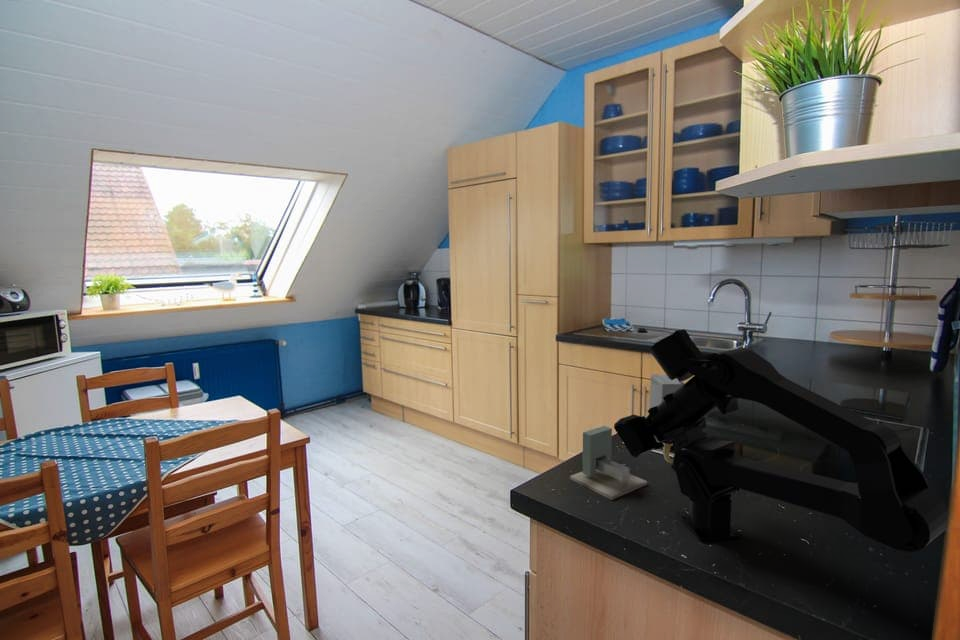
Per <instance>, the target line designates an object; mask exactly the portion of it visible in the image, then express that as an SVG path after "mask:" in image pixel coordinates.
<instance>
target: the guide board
mask: <svg viewBox="0 0 960 640" xmlns="http://www.w3.org/2000/svg"><path fill="white" fill-rule="evenodd" d="M569 480H571V481H573V482H575V483H577V484H579V485H580V486H583V487H585V488H587V489H588V490H591V491H593V492H595V493H597V494H599V495H601V496H603V497H605V498H607V499H609V500H612V501H613V500H616V499H617V498H619V497H621V496H624V495H626V494H628V493H631V492H633V491H635V490H638V489H640V488H642V487H644V486H647V485H648V481H647V480H645V479H642V478H641V477H638V476H636V475H633V474H631V473H629V479H628V480H627V486H626V487H621V486H619V485H618V479H616V478H614V477H612V476H610V475H607V474H605V473H603V472H601V471H598V470H596V475H594V476H591V477H590V476H588V475H586V474H583V470H582V471H580V472H577V473H574V474H572V475H570V476H569Z"/></svg>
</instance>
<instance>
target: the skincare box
mask: <svg viewBox="0 0 960 640" xmlns="http://www.w3.org/2000/svg"><path fill="white" fill-rule="evenodd" d="M685 383H686V382H684V381H682V382H679V381H678V379H677V378H676V379H673V380H671V379H669V378H668V376H667V375H666V374H650V385H649V386H650V388H649V402H648V403H649V405H648V410H649V409H650V408H652V407H655V406H659V405H660V404H661V403H662V402H663V401H665V400H664V399H663V397H664V396H666V395H667V394H671V393H674V392H675V391H677V390H678V389H679V388H680V387H681V386H683V385H684V384H685ZM662 443H663V442H662ZM663 444H664V443H663ZM671 447H674V446H673V444H672V446H671Z"/></svg>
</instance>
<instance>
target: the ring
mask: <svg viewBox="0 0 960 640" xmlns="http://www.w3.org/2000/svg"><path fill="white" fill-rule="evenodd" d="M672 444H673V443H672ZM672 444H666V443H664V444H663V445H664V447H662V454H663V458H664V460H665V461H666V462H667V463H670V464H671V465H674V463H673V458H672V459H671V457H670V451H671V448H672V447H673V446H672Z"/></svg>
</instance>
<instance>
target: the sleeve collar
mask: <svg viewBox="0 0 960 640" xmlns="http://www.w3.org/2000/svg"><path fill="white" fill-rule="evenodd" d="M612 433H613V429H612V428H611V427H609V426H605V425H603V426H599V427H596V428H592V429H590V430H589V429H588V430H586V431H584V432H582V454H583V463H582V471H583V474H586V475H588V476H590V477H591V476H594V475H596V458H599V457H601V456H602V457H604V458H607V459H609V460H611V461H612V453H613V452H612V446H613V445H612V443H613V439H612V437H613V436H612V435H613V434H612Z"/></svg>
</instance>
